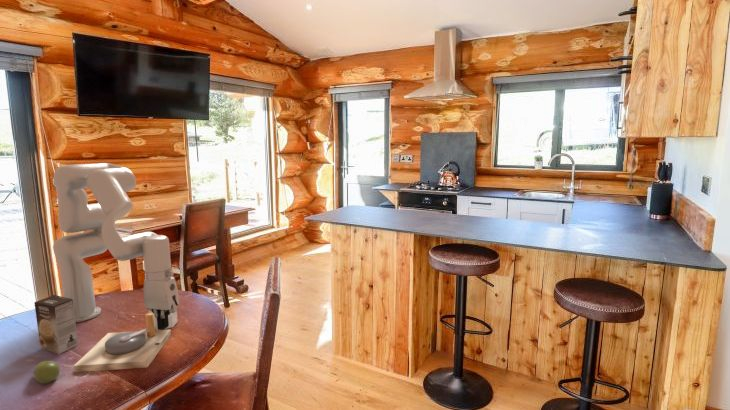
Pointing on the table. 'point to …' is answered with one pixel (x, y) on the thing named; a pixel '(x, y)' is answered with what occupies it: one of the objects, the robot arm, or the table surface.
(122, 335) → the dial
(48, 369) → the pear
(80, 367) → the board
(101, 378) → the table surface
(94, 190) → the robot arm
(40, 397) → the table surface
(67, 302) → the coffee box
